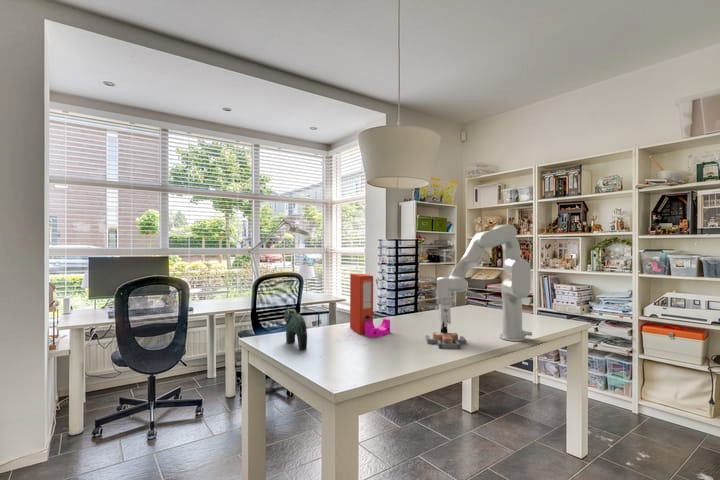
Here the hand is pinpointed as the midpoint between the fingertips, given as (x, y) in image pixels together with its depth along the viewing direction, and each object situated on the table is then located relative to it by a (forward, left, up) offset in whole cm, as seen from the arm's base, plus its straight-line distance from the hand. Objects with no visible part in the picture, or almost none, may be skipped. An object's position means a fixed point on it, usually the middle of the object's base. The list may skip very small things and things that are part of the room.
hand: (444, 336), depth 192 cm
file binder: (+44, -17, -2) cm, 47 cm away
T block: (0, +8, -2) cm, 8 cm away
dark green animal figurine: (+74, +15, -2) cm, 75 cm away
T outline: (0, +7, -2) cm, 7 cm away
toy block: (+34, -9, -2) cm, 35 cm away
